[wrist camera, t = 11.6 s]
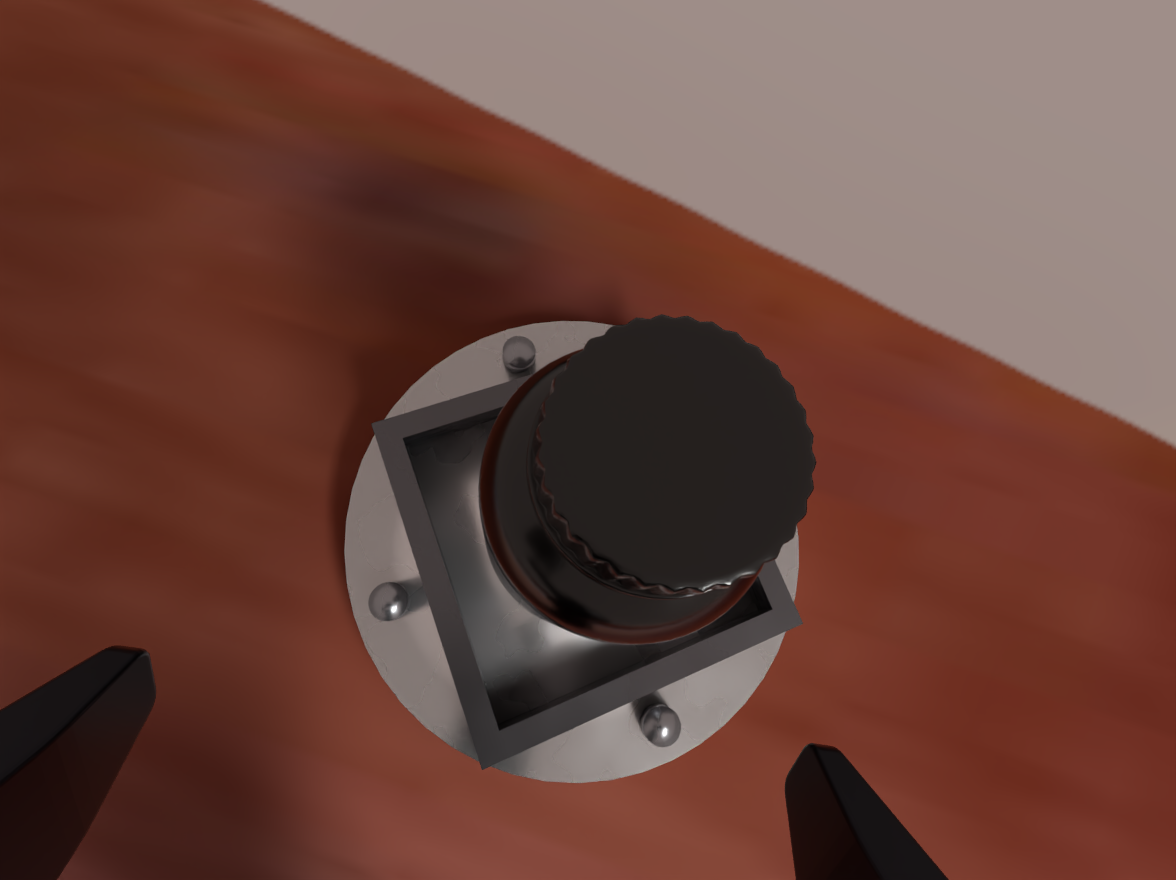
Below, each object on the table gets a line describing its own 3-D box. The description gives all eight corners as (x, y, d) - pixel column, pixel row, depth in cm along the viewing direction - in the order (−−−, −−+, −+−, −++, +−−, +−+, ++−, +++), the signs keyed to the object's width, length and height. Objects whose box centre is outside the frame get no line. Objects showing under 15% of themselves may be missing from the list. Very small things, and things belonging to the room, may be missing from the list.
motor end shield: (435, 858, 19) (426, 896, 17) (301, 405, 23) (276, 379, 20) (848, 659, 23) (893, 665, 21) (683, 294, 26) (704, 259, 24)
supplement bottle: (464, 457, 21) (432, 284, 10) (646, 418, 23) (799, 227, 11) (508, 656, 20) (529, 719, 9) (700, 601, 21) (939, 592, 10)
